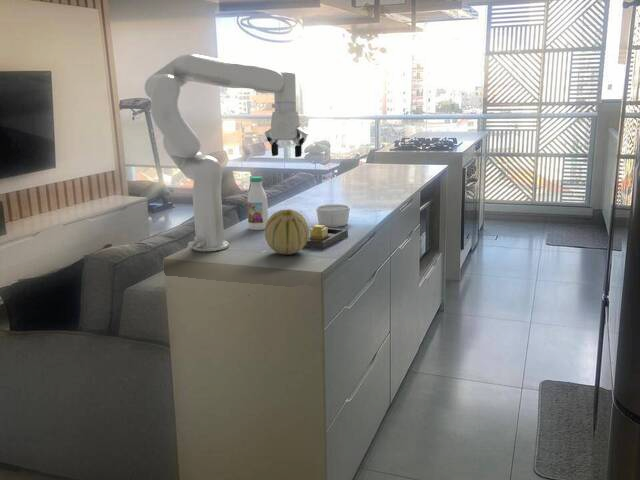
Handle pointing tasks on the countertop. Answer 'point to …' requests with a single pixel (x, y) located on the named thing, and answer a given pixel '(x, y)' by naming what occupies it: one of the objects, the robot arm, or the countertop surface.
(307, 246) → the grey board with holes
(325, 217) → the ramekin
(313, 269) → the countertop surface
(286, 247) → the cantaloupe
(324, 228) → the yellow rectangular block
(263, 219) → the milk bottle
